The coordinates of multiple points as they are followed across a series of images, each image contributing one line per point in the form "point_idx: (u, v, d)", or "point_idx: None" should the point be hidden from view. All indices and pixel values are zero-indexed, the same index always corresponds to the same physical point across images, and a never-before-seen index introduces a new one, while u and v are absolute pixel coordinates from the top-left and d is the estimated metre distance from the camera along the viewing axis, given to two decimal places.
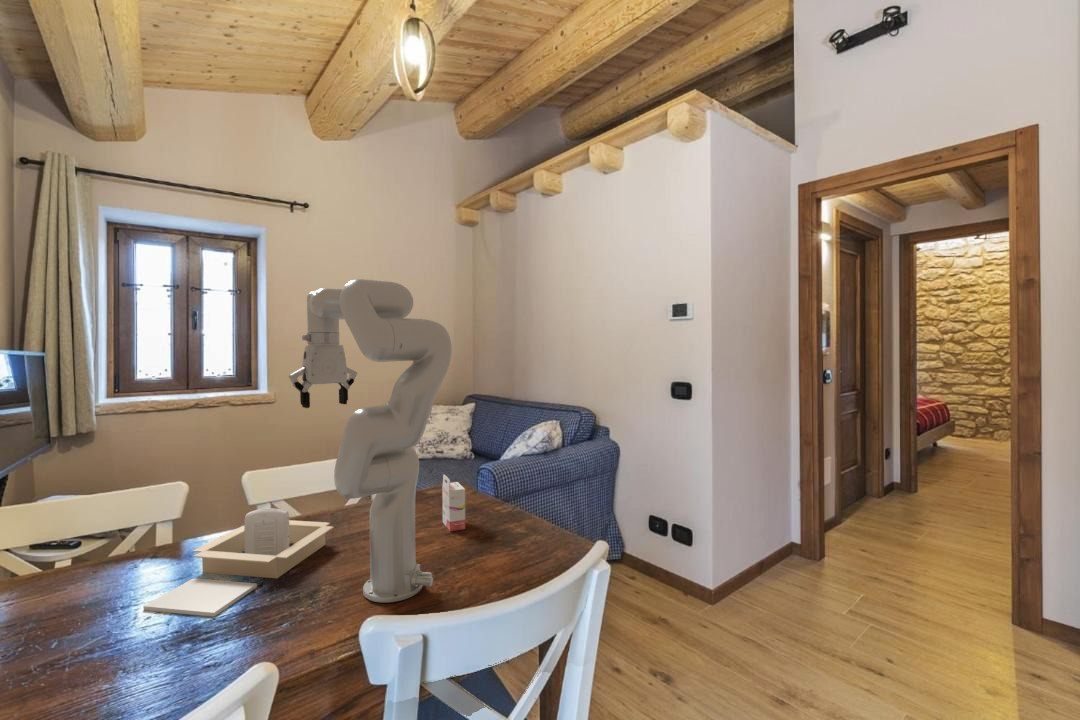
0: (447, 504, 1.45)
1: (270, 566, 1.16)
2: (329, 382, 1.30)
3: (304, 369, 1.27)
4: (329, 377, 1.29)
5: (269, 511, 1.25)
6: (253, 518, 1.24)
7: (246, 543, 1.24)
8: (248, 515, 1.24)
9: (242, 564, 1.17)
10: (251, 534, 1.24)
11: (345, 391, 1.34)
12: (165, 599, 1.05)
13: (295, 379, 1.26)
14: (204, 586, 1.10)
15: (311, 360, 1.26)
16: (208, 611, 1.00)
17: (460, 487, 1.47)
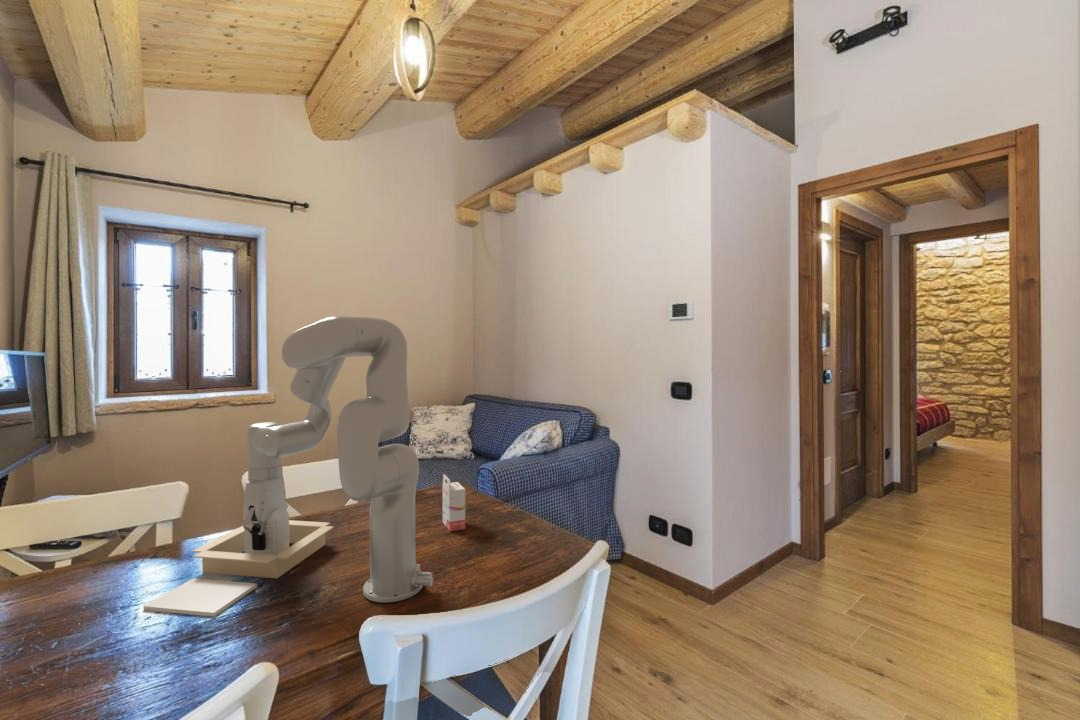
0: (447, 504, 1.45)
1: (270, 566, 1.16)
2: None
3: None
4: None
5: None
6: None
7: (246, 543, 1.24)
8: None
9: (242, 564, 1.17)
10: (250, 534, 1.24)
11: None
12: (165, 599, 1.05)
13: None
14: (204, 586, 1.10)
15: None
16: (208, 611, 1.00)
17: (460, 487, 1.47)
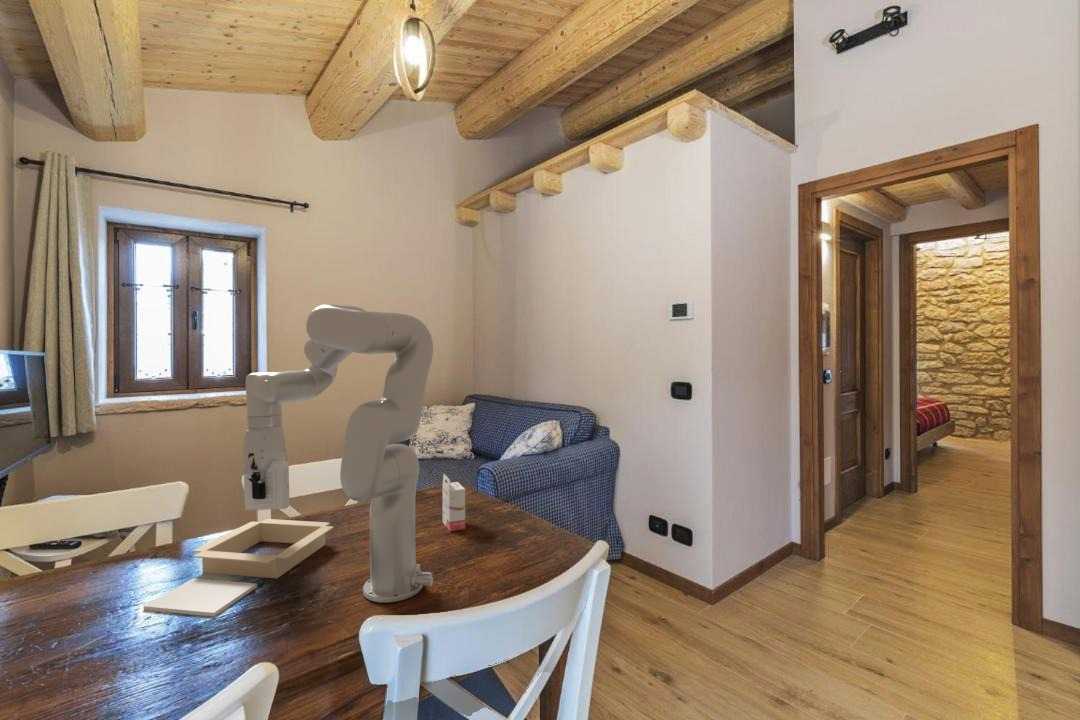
0: (447, 504, 1.45)
1: (270, 566, 1.16)
2: None
3: None
4: None
5: None
6: None
7: (246, 492, 1.23)
8: None
9: (242, 564, 1.17)
10: (250, 483, 1.23)
11: None
12: (165, 599, 1.05)
13: None
14: (204, 586, 1.10)
15: None
16: (208, 611, 1.00)
17: (460, 487, 1.47)
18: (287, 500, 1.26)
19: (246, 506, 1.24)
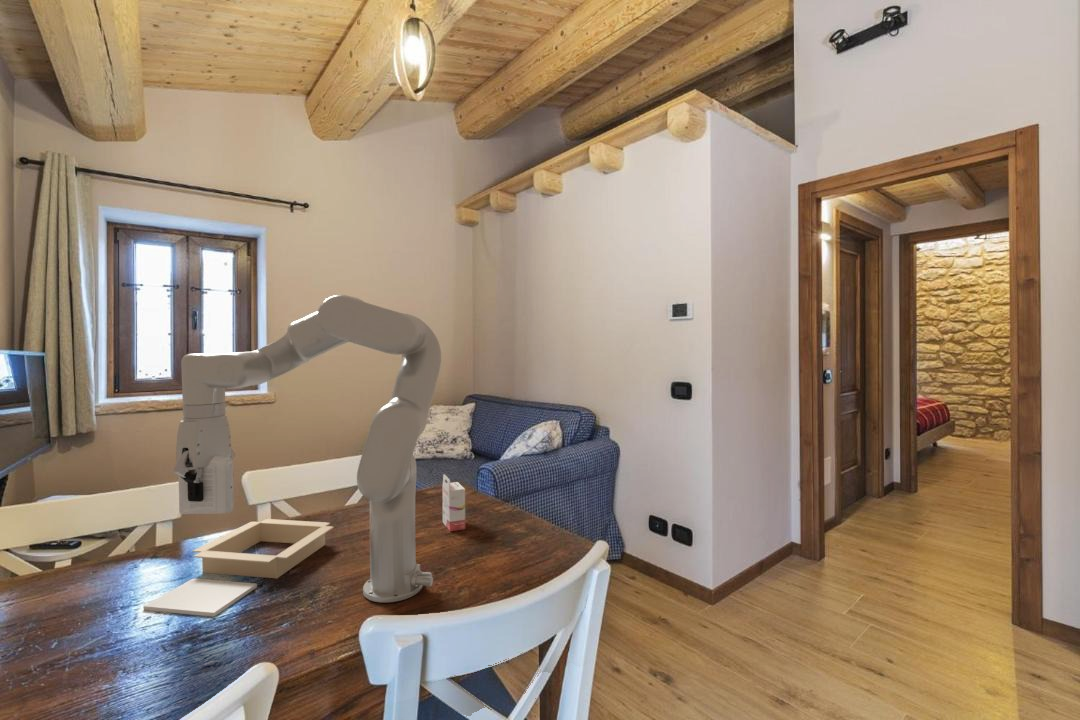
0: (447, 504, 1.45)
1: (270, 566, 1.16)
2: None
3: None
4: None
5: None
6: None
7: (181, 493, 1.06)
8: None
9: (242, 564, 1.17)
10: None
11: None
12: (165, 599, 1.05)
13: None
14: (204, 586, 1.10)
15: None
16: (208, 611, 1.00)
17: (460, 487, 1.47)
18: (230, 503, 1.08)
19: (181, 509, 1.06)
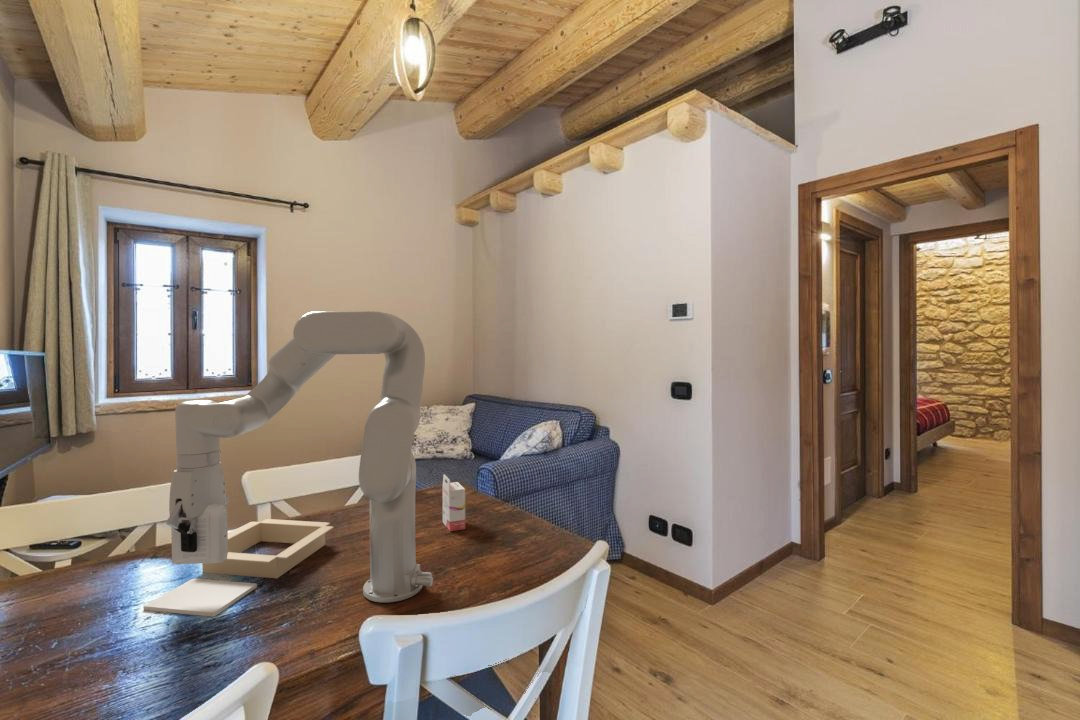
0: (447, 504, 1.45)
1: (270, 566, 1.16)
2: None
3: None
4: None
5: None
6: None
7: (173, 543, 1.04)
8: None
9: (242, 564, 1.17)
10: None
11: None
12: (165, 599, 1.05)
13: None
14: (204, 586, 1.10)
15: None
16: (208, 611, 1.00)
17: (460, 487, 1.47)
18: (224, 552, 1.06)
19: (174, 559, 1.04)
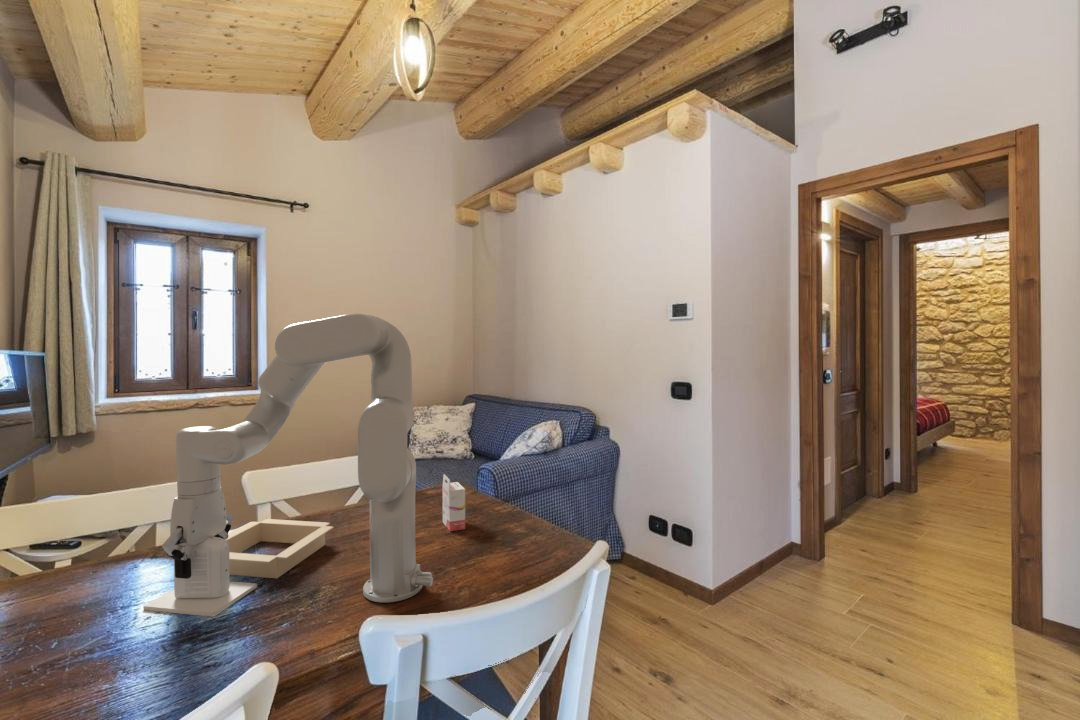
0: (447, 504, 1.45)
1: (270, 566, 1.16)
2: None
3: None
4: None
5: None
6: (184, 548, 1.04)
7: None
8: None
9: (242, 564, 1.17)
10: None
11: None
12: (165, 599, 1.05)
13: None
14: None
15: None
16: (208, 611, 1.00)
17: (460, 487, 1.47)
18: (225, 586, 1.06)
19: (176, 593, 1.05)
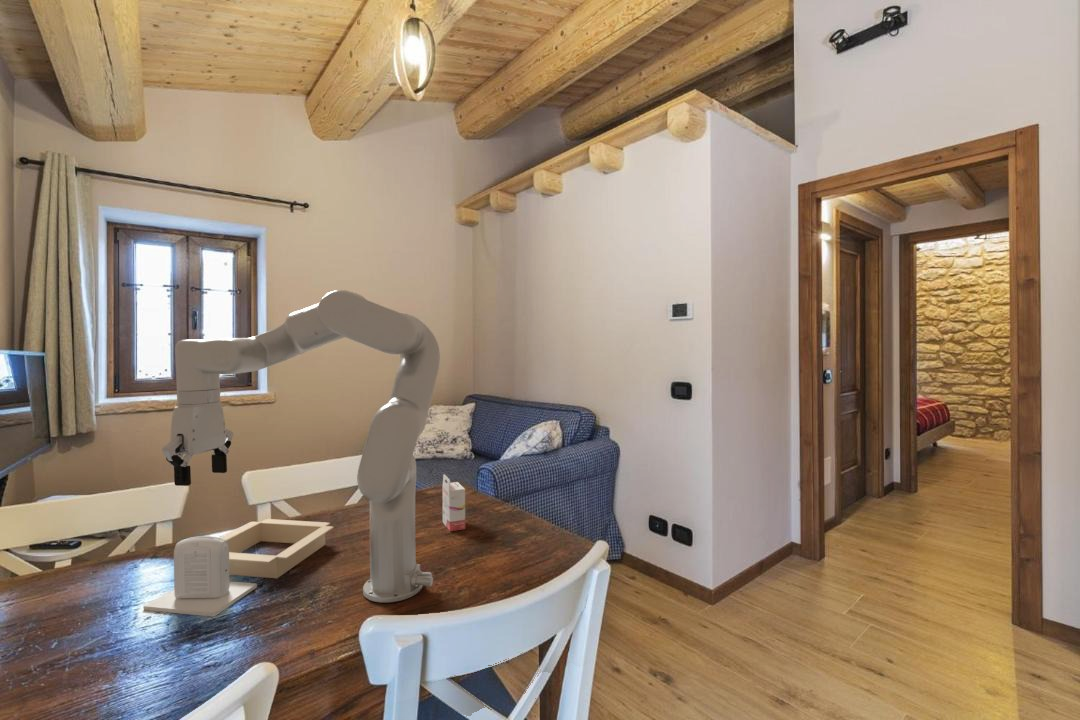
0: (447, 504, 1.45)
1: (270, 566, 1.16)
2: None
3: None
4: None
5: (203, 540, 1.05)
6: (184, 548, 1.04)
7: (176, 577, 1.05)
8: (179, 544, 1.05)
9: (242, 564, 1.17)
10: (181, 567, 1.04)
11: None
12: (165, 599, 1.05)
13: None
14: None
15: None
16: (208, 611, 1.00)
17: (460, 487, 1.47)
18: (225, 586, 1.06)
19: (176, 593, 1.05)
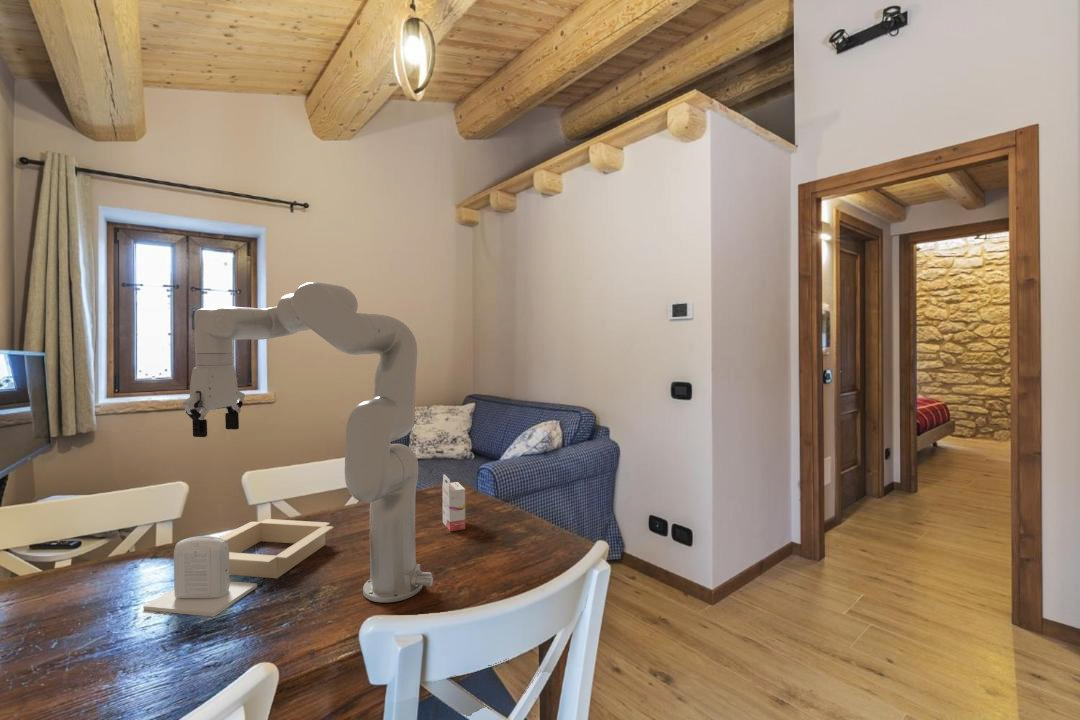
0: (447, 504, 1.45)
1: (270, 566, 1.16)
2: None
3: None
4: None
5: (203, 540, 1.05)
6: (184, 548, 1.04)
7: (176, 577, 1.05)
8: (179, 544, 1.05)
9: (242, 564, 1.17)
10: (181, 567, 1.04)
11: None
12: (165, 599, 1.05)
13: None
14: None
15: None
16: (208, 611, 1.00)
17: (460, 487, 1.47)
18: (225, 586, 1.06)
19: (176, 593, 1.05)
